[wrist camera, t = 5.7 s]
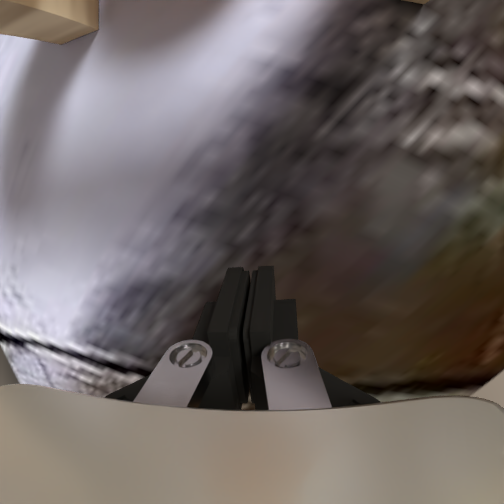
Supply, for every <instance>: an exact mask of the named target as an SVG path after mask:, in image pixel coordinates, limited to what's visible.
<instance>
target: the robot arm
mask: <svg viewBox="0 0 504 504" xmlns="http://www.w3.org/2000/svg"><path fill="white" fill-rule="evenodd" d="M249 387H250V393H251V401H252V403H255V409H256V410H241V406H242V403H247V402H248V395H249ZM0 504H504V408H502V407H501V406H500V405H498V404H497V403H494V402H493V401H490V400H486V399H482V398H477V397H468V396H432V397H421V398H414V399H407V400H399V401H390V402H380V401H378V400H377V399H376V398H374V397H372V396H370V395H369V394H367V393H365V392H363V391H361V390H359V389H357V388H355V387H354V386H352V385H350V384H348V383H346V382H344V381H342V380H341V379H339V378H337V377H335V376H333V375H332V374H330V373H328V372H326V371H324V370H323V369H321V368H319V367H318V365H317V362H316V359H315V357H314V354H313V351H312V349H311V348H310V346H309V345H307V344H306V343H305V342H302V341H300V340H298V328H297V314H296V300H295V299H287V300H276V296H275V280H274V267H273V266H260V267H258V270H257V271H253V274H252V279H251V285H250V275H249V271H244V269H243V267H237V268H228V269H227V272H226V275H225V278H224V281H223V284H222V287H221V291H220V294H219V297H218V300H217V302H207V303H206V304H205V307H204V310H203V312H202V315H201V318H200V320H199V323H198V326H197V329H196V331H195V334H194V337H193V339H192V340H187V341H182V342H179V343H177V344H175V345H173V346H172V347H170V348H169V349H168V350H167V351H166V353H165V354H164V356H163V357H162V359H161V360H160V362H159V363H158V365H157V366H156V368H155V369H154V371H153V372H152V374H151V375H149V376H147V377H145V378H143V379H140V380H138V381H136V382H134V383H132V384H130V385H128V386H126V387H124V388H122V389H119V390H117V391H115V392H113V393H111V394H109V395H108V396H106V397H99V396H93V395H88V394H82V393H77V392H72V391H67V390H62V389H56V388H51V387H46V386H41V385H32V384H12V385H4V386H0Z"/></svg>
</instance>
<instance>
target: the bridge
mask: <svg viewBox="0 0 504 504" xmlns="http://www.w3.org/2000/svg"><path fill="white" fill-rule="evenodd" d="M403 1H409V2H415V3H420V4H425V3H426V2H428V1H429V0H403ZM98 9H99V0H0V34H3V35H11V36H17V37H23V38H29V39H35V40H40V41H45V42H50V43H55V44H60V45H62V44H64V43H67V42H69V41H71V40H74V39H76V38H79V37H81V36H84V35H86V34H89V33H91V32H94V31H97V30H99V25H98Z"/></svg>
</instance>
